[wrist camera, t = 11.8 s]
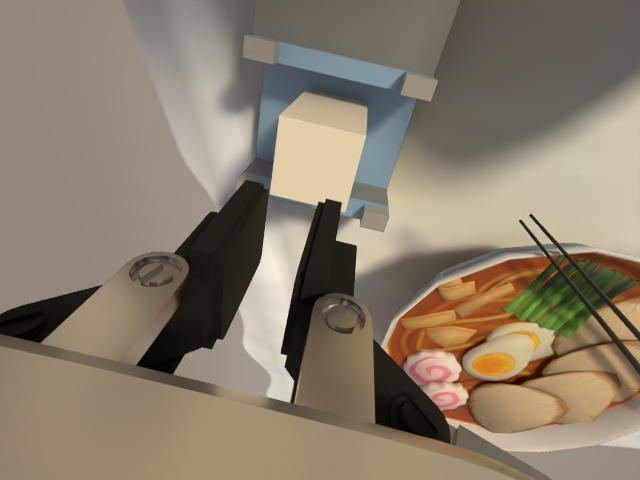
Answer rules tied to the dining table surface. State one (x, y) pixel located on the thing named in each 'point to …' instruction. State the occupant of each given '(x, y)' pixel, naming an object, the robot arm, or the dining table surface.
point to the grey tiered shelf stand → (348, 77)
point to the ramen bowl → (529, 345)
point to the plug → (319, 148)
